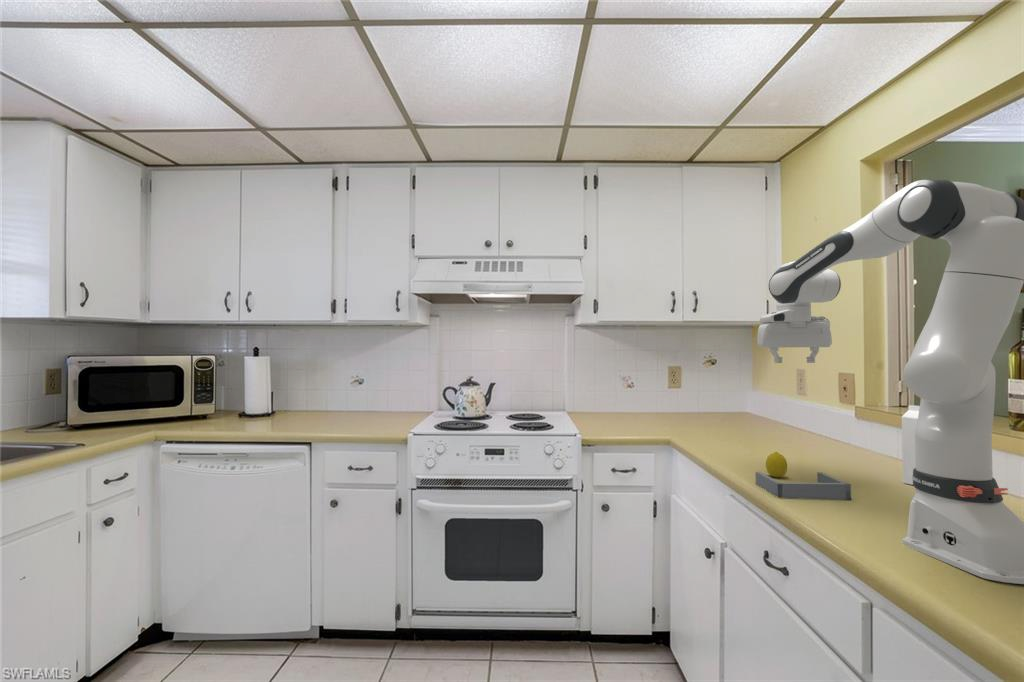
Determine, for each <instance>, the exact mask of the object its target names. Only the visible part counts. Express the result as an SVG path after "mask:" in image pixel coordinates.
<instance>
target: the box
mask: <svg viewBox="0 0 1024 682" xmlns="http://www.w3.org/2000/svg"><path fill="white" fill-rule="evenodd" d="M816 474H817V475H816V476H817V482H782V481H781V482H780V481H778V480H777V479H774V477H773V478H772V477H770V476H769V475H767V474H765V473H763V472H761V471H755V484H756V485H757V484H758V485H759V487H760V486H761V487H760V488H762V489H763V488H764V489H763V490H765V489H766V490H767V491H766V490H765V491H766V492H768V493H769V492H770V493H769V494H771V493H772V494H771V495H773V496H774V495H775V496H774V497H776V496H777V497H780V498H779V499H782V498H781V497H784V498H783V499H798V498H803V500H805V499H806V500H809V499H810V500H832V501H833V500H835V501H852V491H851V490H852V488H851V487H852V484H851V483H849V482H847V481H844V480H841V479H839V478H836V477H834V476H832V475H829V474H827V473H824V472H822V471H821V472H820V471H819V472H816ZM758 485H757V486H758ZM777 497H776V498H777ZM785 497H786V498H785Z"/></svg>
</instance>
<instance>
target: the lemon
mask: <svg viewBox="0 0 1024 682" xmlns="http://www.w3.org/2000/svg"><path fill="white" fill-rule="evenodd" d="M765 468H766V471H767V473H768V474H769V475H770V476H772V477H773V478H776V479H779V478H782V477H784V476H785V475H786V474H787V472H788V462H787V460H786V458H785V456H783V455H782V454H781V453H779V452H778V451H774V452H772V453H770V454H769V455H768V456H767V458H766V461H765Z"/></svg>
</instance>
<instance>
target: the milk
mask: <svg viewBox="0 0 1024 682" xmlns="http://www.w3.org/2000/svg"><path fill="white" fill-rule="evenodd" d="M919 408H920V405H912V404H909V405H908V410H907V411H906V412H905V413H904V414H903V415H902V416H901V448H902V449H901V450H902V451H901V452H902V455H901V456H902V483H904V484H907V485H910V486H911V485H912V486H913V479H912V475H913V469H914V468H916V464H915V427H916V424H917V420H918V415H919Z"/></svg>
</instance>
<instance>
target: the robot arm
mask: <svg viewBox="0 0 1024 682" xmlns="http://www.w3.org/2000/svg"><path fill="white" fill-rule="evenodd" d="M921 236H923V237H925V238H929V239H931V240H938V239H942V240H944V241H946V242H947V243H948V244H949V246H950V247H949V248H950V253H949V258H948V261H947V263H946V266H945V269H944V272H943V275H942V277H941V280H940V281H941V282H940V284H939V287H938V291H937V293H936V294H937V295H936V297H935V300H934V303H933V306H932V309H931V311H930V314H929V316H928V318H927V321H926V323H925V325H924V326H923V328H922V330H921V332H920V334H919V336H918V338H917V341H916V343H915V345H914V347H913V349H912V352H911V355H910V357H909V359H908V361H907V362H906V364H905V366H904V369H903V373H902V374H903V375H902V376H903V377H902V378H903V380H904V381H903V382H904V384H905V386H906V387H907V388H908V390H909V391H910V392H911V393H912V394H914V395H915V396H916V397H918V398H920V400H919V406H920V408H919V415H918V420H917V424H916V427H915V464H916V468H914V469H913V475H912V479H913V485H912V486H913V487H914V488H915V489H914V495H913V497H912V500H911V501H910V504H909V512H908V521H907V522H908V523H907V530H906V531H907V532H906V536H905V537H903V538H902V542H901V544H902V545H903V544H904V545H903V546H905V545H906V547H907V546H908V548H910V547H911V548H910V549H912V548H913V549H912V550H914V549H915V551H917V552H919V553H921V554H924V555H927V556H929V557H931V558H934V559H936V560H939V561H941V562H944V563H946V564H948V565H949V566H953V567H955V568H957V569H960V570H963V571H965V572H967V573H970V574H972V575H974V576H977V577H980V578H981V579H985V580H990V581H996V582H1002V583H1008V584H1019V585H1024V521H1023V520H1022V519H1020V518H1019V517H1018V515H1016V514H1015V512H1013V511H1012V510H1011V509H1010V508H1009V507H1008V506H1007V505H1006V504H1005V503H1004V502H1003V501H1004V497H1003V495H1005V496H1008V495H1009V493H1007V492H1004V491H1008V490H1009V488H1007V487H1000V486H999V485H998V482H997V480H996V479H995V478H994V476H993V474H994V473H993V445H992V443H993V442H992V441H993V439H992V438H993V437H992V436H993V435H992V434H993V425H994V424H993V423H994V414H995V401H996V379H997V378H996V373H997V372H996V368H995V366H994V364H993V362H992V359H993V357H994V355H995V353H996V351H997V348H998V346H999V344H1000V342H1001V340H1002V338H1003V336H1004V334H1005V332H1006V330H1007V328H1008V326H1009V324H1010V323H1011V319H1012V317H1013V315H1014V311H1015V308H1016V305H1017V302H1018V300H1019V297H1020V294H1021V290H1022V288H1023V285H1024V199H1023V198H1022V197H1020V196H1017V195H1015V193H1011V192H1009V191H1003V190H1002V191H1001V190H997V189H993V188H991V187H987V186H983V185H980V184H977V183H971V182H963V181H951V180H948V179H931V180H930V179H921V180H920V179H919V180H915V181H914V182H912V183H911V182H910V184H907V185H906V186H904V187H902V188H901V189H899V190H897V191H896V192H894V194H892V195H891V196H889V197H887V198H886V199H885V200H884V201H882V202H881V203H879V205H878V206H876V207H875V208H874V209H873V210H871V211H870V212H868V214H866V215H865V216H863V217H862V218H860V219H859V220H858V221H856V222H854V223H853V224H852V225H849V226H848V227H846V228H844V229H842V230H840V231H839V232H837V233H835V234H833V235H831V236H830V237H829V238H827V239H825V240H824V241H822V242H820V243H818V245H816V246H814V247H813V248H812V249H810V250H809V251H808V252H807V253H805V254H804V255H802V256H801V257H799V258H798V259H796V260H793V261H788V262H785V263H783V264H782V265H780V266H779V267H778V269H777V270H776V271H775V272H774V273H773V274H772V275H771V277H770V279H769V282H768V290H769V294H770V295H771V296H772V298H773V299H774V300H775V301H776V302H777V304H776V310H775V311H774V312H771V313H769V314H768V313H767V314H765V315H762V316H760V317H759V322H760V325H759V327H758V329H757V337H756V339H757V340H756V341H757V343H756V344H757V345H758V347H759V348H760V349H761V348H767V349H768V348H769V350H770V351H769V352H770V353H771V355H772V357H773V359H774V360H773V361H774V364H782V363H783V357H782V356H780V355H779V353H778V352H779V348H809V351H810V354H809V356H806V363H808V364H814V363H815V362H816V357H817V355H818V354H819V352H820V348H830V347H831V345H832V344H833V340H832V333H831V321H830V320H829V319H828V318H827V317H826V316H814V315H813V316H812V305H811V303H818V304H819V303H828V302H831V301H832V300H834V299H836V297H837V296H838V295H839V293H840V291H841V288H842V281H841V277H840V275H839V274H838V273H837V272H836V271H835V270H834V269H830V268H831V267H834V266H836V265H839V264H842V263H848V262H852V261H853V262H854V261H859V260H869V259H870V260H871V259H881V258H885V257H887V256H888V257H889V256H890V255H892V254H894V253H897V252H899V251H901V250H903V249H904V248H906V247H907V246H910V244H911V243H913V242H914V241H916V240H917V239H918V238H920V237H921Z"/></svg>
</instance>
